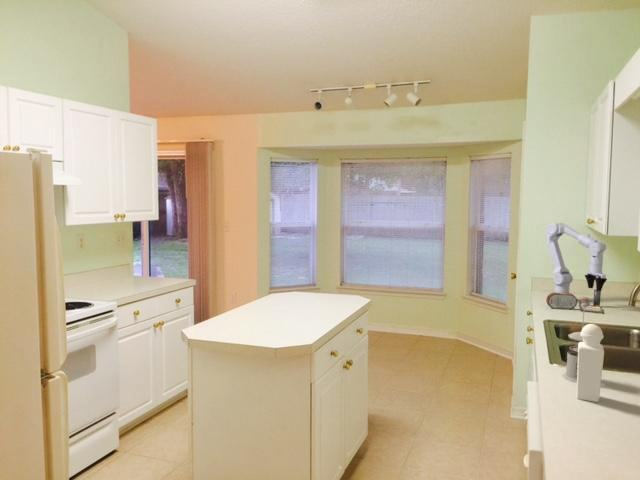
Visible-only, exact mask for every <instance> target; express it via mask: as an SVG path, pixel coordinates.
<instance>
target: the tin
mask: <svg viewBox="0 0 640 480" xmlns="http://www.w3.org/2000/svg"><path fill="white" fill-rule="evenodd" d="M545 302H546V304H547V306H548V307H550V308H552V309H555V310H573V309H574V308H576V307H577V305H578V298H577V297H576V295H574V294H573V293H570V292H569V293H556V292H555V291H554V292H551V293H549V294H548V295H547V297H546V301H545Z"/></svg>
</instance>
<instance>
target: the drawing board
mask: <svg viewBox="0 0 640 480" xmlns="http://www.w3.org/2000/svg"><path fill="white" fill-rule="evenodd" d="M579 308H580V312H581V313H582V312H583V311H584V313H593V314H602V315H603V314H604V311H603V309H602V307H601V306H600V307H593V305H592V306H591V305H590V306H587V307H582V306H581V305H580V307H579Z"/></svg>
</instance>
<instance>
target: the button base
mask: <svg viewBox="0 0 640 480" xmlns="http://www.w3.org/2000/svg"><path fill="white" fill-rule="evenodd" d="M582 303H586V304H587V305H588V306H591V301H590V299H588V302H587V301H581V299H580V298H578V307H579V308H580V305H581V304H582Z"/></svg>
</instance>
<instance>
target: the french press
mask: <svg viewBox="0 0 640 480" xmlns="http://www.w3.org/2000/svg"><path fill="white" fill-rule="evenodd" d="M581 306H582V307H587V306H588V305H587V304H586V303H582V304H581ZM584 318H585V312H584V311H583V314H582V323H584V320H585V319H584ZM583 327H584V325H582V327H581V330H582V329H583ZM580 333H581V331H575V332H572V333H570V334H568V335H567V336H568V338H569V339H570V340H572V341H575V342H576V341H577V342H583V339H582V337H581V335H580ZM568 349H569V350H568V351H567V353H566V354H567V356H566V359H567V360H566V363H567V364H566V369H565V370H566V371H565V373H564V374H562V377H563V379H565V380H567V381H569V382H570V383H571V382H572V383H576V384H577V366H578V345H572V346H571V345H570V346H569V348H568Z"/></svg>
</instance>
